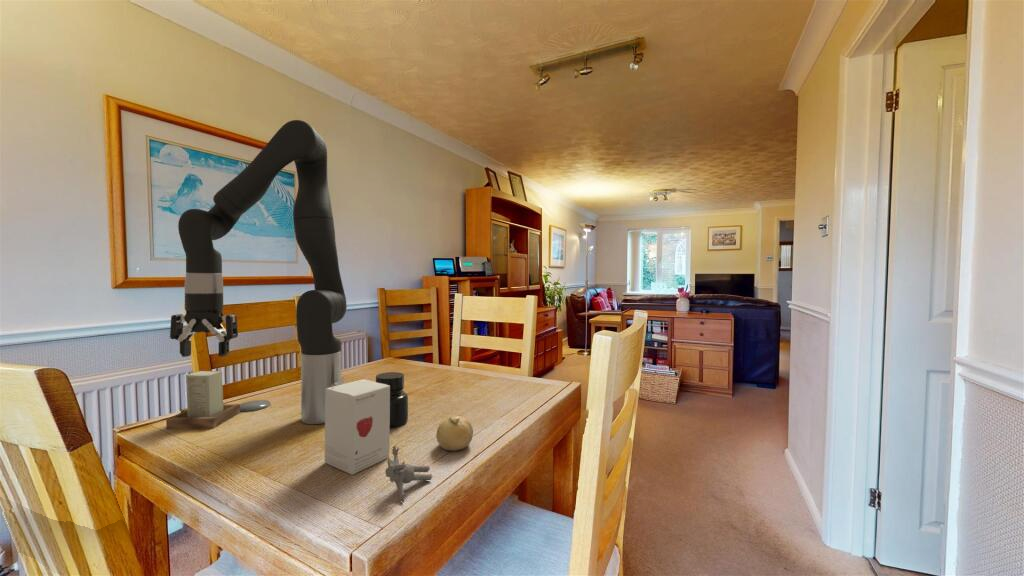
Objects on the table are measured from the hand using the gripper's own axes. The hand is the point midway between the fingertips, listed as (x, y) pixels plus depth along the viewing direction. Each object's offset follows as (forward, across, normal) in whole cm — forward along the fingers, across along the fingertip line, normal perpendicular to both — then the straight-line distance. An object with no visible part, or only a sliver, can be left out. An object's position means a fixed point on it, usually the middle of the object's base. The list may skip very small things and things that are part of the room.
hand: (204, 356), depth 96 cm
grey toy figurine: (+16, -55, +35) cm, 67 cm away
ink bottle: (+16, -46, +4) cm, 49 cm away
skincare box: (+16, 0, 0) cm, 17 cm away
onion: (+16, -63, +19) cm, 68 cm away
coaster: (+16, -6, -10) cm, 20 cm away
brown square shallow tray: (+16, 0, 0) cm, 16 cm away
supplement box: (+16, -44, +24) cm, 53 cm away
